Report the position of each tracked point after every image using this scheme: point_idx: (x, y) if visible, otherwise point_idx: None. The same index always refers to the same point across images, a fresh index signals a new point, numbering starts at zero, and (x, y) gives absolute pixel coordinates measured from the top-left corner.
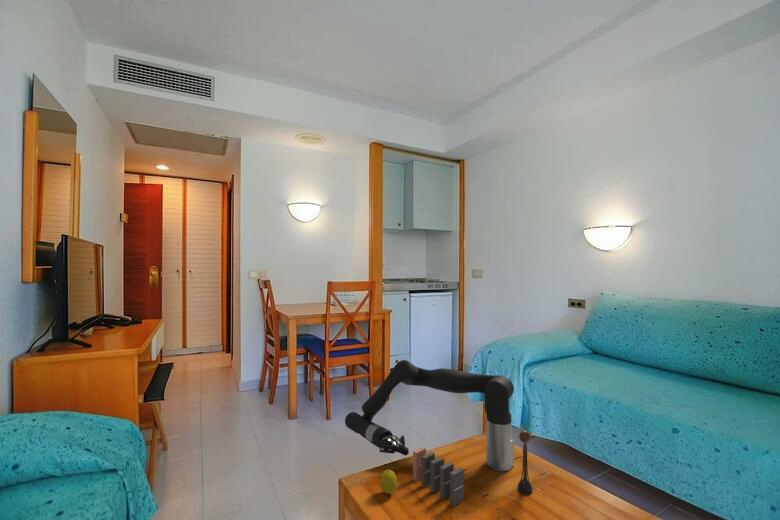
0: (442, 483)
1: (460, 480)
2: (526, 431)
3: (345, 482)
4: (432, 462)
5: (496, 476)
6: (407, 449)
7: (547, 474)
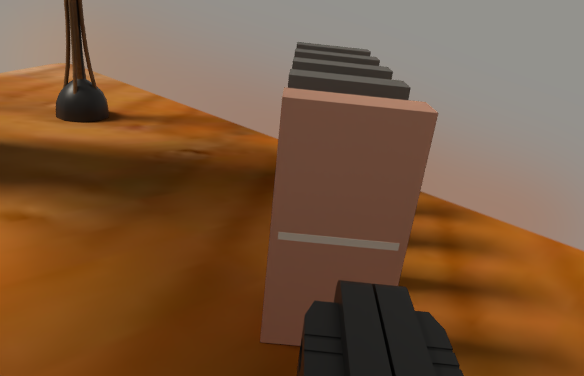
0: None
1: None
2: None
3: None
4: (388, 69)
5: (27, 150)
6: (355, 283)
7: None
